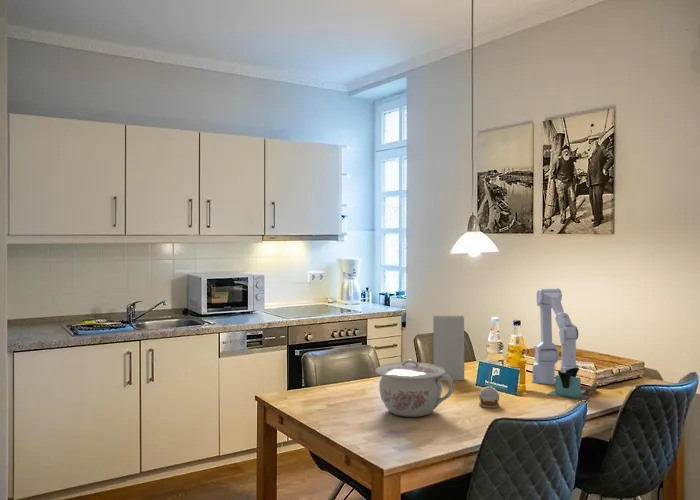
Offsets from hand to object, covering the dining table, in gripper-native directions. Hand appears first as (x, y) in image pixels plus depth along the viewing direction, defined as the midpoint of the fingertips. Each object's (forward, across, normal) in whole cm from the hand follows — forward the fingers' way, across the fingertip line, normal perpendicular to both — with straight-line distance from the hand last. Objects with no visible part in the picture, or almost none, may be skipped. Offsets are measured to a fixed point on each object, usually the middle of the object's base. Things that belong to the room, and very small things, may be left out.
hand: (568, 386), depth 265 cm
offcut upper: (+4, +7, 0) cm, 8 cm away
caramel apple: (+4, -33, +21) cm, 39 cm away
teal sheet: (+4, 0, 0) cm, 4 cm away
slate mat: (+4, 0, 0) cm, 4 cm away
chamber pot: (+4, -59, +42) cm, 73 cm away
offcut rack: (+4, +10, 0) cm, 11 cm away
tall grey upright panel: (+4, -2, +56) cm, 56 cm away
